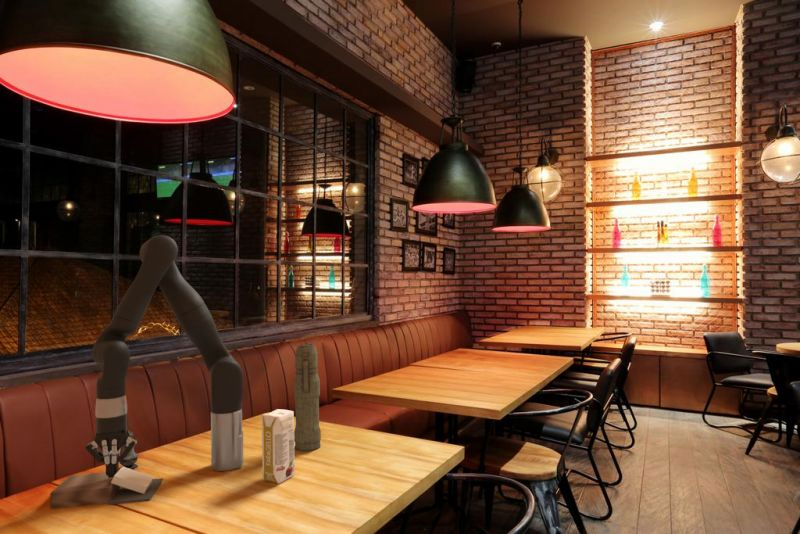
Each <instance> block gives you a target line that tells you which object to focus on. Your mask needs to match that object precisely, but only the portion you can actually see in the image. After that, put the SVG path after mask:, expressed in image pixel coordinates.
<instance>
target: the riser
mask: <svg viewBox="0 0 800 534" xmlns="http://www.w3.org/2000/svg"><path fill="white" fill-rule="evenodd" d="M112 479H113V477H112V478H108V476H107V475H106V471H104V472H94V473H85V474H84V473H82V474H73V475H71V474H70V475H69V476H67V478H66V479H64V480H63V481H62V482H61V483H59V484H58V485H57V486H56V487H55V489H53V490H52V491H51V492H50V494H49V496H50V497H49V499H50V500H49V501H50V502H49V503H50V504H49V506H50V507H49V508H50V510H51V509H62V508H63V507H64V508H75V507H81V506H92V505H103V504H109V502H110V500H111V499H112V498H113V497H114V495H115V494H116V493H117V492H118V491H119V489H120V488H121V486H118V485H115V484H112V483H111V481H112Z"/></svg>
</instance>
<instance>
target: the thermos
mask: <svg viewBox="0 0 800 534" xmlns="http://www.w3.org/2000/svg"><path fill="white" fill-rule="evenodd" d="M318 357H319V355H318V350H317V347H316V345H314V344H313V343H303V344H299V345H297V347H296V350H295V353H294V359H295V360H294V362H295V363H294V366H295V376H294V379H293V397H294V399H295V401H294V403H295V406H294V407H295V426H294V450H296V451H298V452H307V453H308V452H314V451H317V450H319V449H321V440H322V432H321V428H320V399H319V398H320V396H321V380H320V376H319V371H318V367H319V365H318V364H319V363H318V359H319V358H318Z"/></svg>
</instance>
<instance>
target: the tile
mask: <svg viewBox="0 0 800 534" xmlns="http://www.w3.org/2000/svg"><path fill="white" fill-rule="evenodd" d="M121 467H122V466H121ZM154 477H155V476H153V475H149V474H147V473H144V472H141V471H139V470H138V471H137V470H136V469H133V470H132V469H129V468H126V467H122V468H121V469H120V470H119V471H118V472H117V473H116V474H115V475H114V477H113V479H112V481H111V483H112V484H115V485H118V486H121V487H124V488H127V489H130V490H133V491H136V492H139V493H143V494H144V493H145V492H146V490H147V489H148V487H149V486H150V485H151V483H152V481H153V479H155V478H154Z"/></svg>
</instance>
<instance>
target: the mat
mask: <svg viewBox="0 0 800 534" xmlns="http://www.w3.org/2000/svg"><path fill="white" fill-rule="evenodd" d="M163 481H164V478H162V477H161V478H153V481H152V483H151V485H150V486H149V487H148V489H147V490H146V492H145V493H144V494H143V493H139V492H136V491H133V490H130V489H127V488H124V487H121V488H120V489H119V491H118V492H117V493H116V494H115V495H114V497H113V498H112V499H111V500H110V502H109V503H108V505H117V504H118V505H119V504H127V503H128V504H129V503H139V502H146V501H147V502H148V501H151V500H152V498H153V497H154V495H155V493H156V492H157V490H158V489H159V487H160V486H161V484H162V482H163Z"/></svg>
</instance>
